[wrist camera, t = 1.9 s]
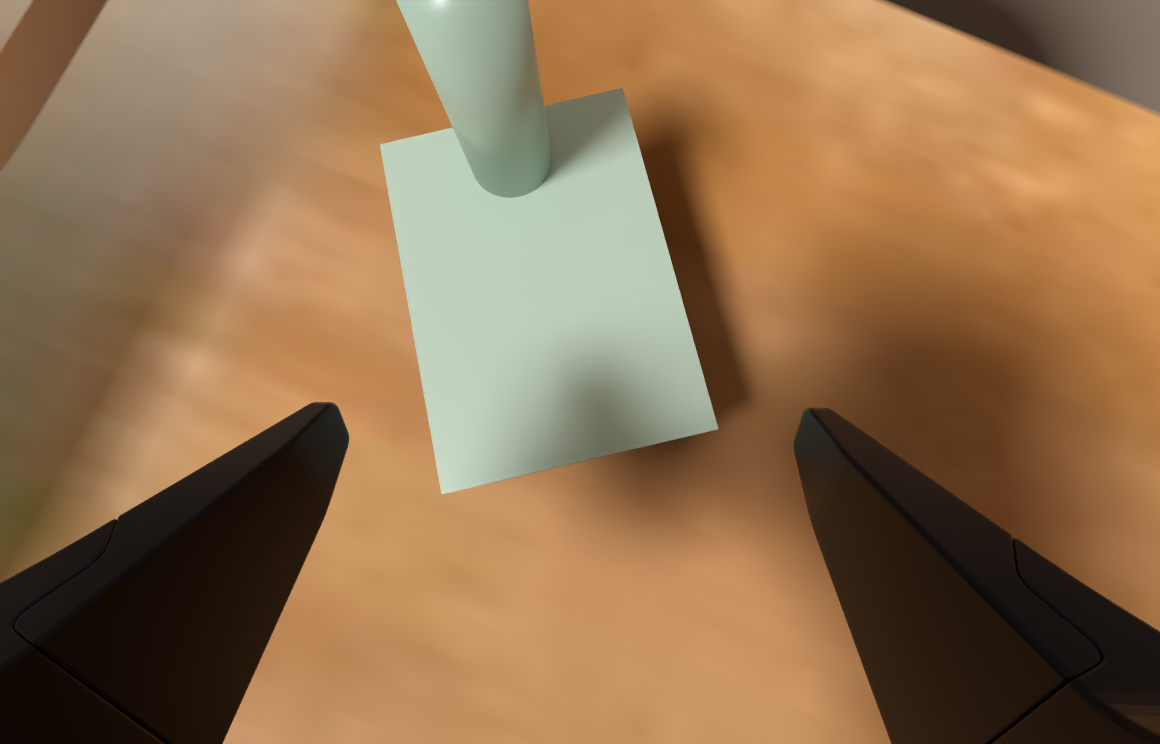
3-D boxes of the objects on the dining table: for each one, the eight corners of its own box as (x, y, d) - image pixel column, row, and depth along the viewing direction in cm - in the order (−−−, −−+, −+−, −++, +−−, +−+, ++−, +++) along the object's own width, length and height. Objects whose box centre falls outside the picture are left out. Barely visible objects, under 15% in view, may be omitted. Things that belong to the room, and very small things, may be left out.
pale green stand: (451, 491, 19) (311, 525, 9) (392, 161, 21) (235, -62, 12) (710, 431, 19) (817, 405, 10) (621, 108, 21) (638, -156, 12)
